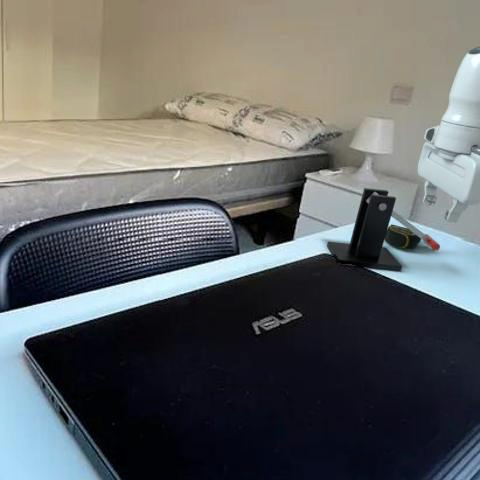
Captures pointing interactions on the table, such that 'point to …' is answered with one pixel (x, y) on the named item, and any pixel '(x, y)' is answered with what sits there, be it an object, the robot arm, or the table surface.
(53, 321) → the table surface
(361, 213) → the bracket
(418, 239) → the tape measure
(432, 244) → the lever
